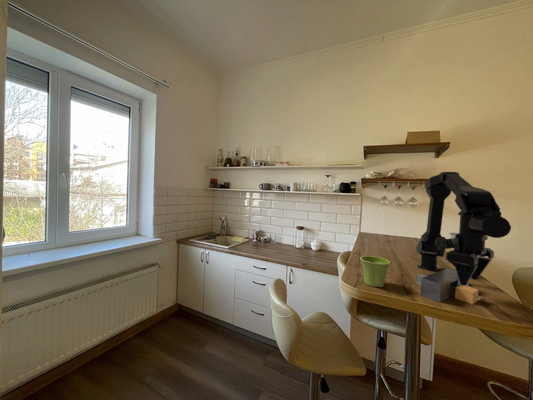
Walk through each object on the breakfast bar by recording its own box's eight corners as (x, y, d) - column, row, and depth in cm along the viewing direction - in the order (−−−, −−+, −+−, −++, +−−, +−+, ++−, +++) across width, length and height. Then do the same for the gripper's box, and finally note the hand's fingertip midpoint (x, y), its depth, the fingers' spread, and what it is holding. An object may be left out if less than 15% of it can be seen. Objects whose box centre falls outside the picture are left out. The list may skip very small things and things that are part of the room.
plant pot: (354, 282, 74) (355, 258, 74) (366, 276, 80) (367, 254, 80) (381, 292, 67) (383, 265, 67) (393, 285, 73) (394, 260, 73)
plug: (415, 284, 74) (416, 274, 74) (421, 282, 77) (422, 272, 76) (478, 306, 60) (478, 294, 60) (483, 302, 63) (484, 291, 62)
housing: (447, 283, 76) (448, 268, 76) (465, 288, 72) (466, 273, 72) (420, 294, 66) (421, 277, 66) (439, 302, 62) (440, 283, 62)
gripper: (451, 226, 75) (448, 268, 76) (426, 229, 66) (424, 277, 66) (496, 231, 65) (492, 280, 66) (475, 235, 56) (471, 292, 56)
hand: (468, 282), depth 64 cm, fingers open, 9 cm apart
